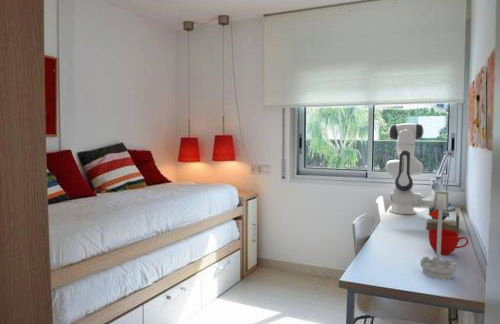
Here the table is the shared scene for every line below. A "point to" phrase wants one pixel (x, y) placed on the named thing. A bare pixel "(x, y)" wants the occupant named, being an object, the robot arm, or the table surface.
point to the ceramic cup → (445, 241)
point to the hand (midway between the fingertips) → (443, 201)
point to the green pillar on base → (443, 201)
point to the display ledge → (444, 224)
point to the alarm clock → (434, 210)
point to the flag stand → (438, 254)
